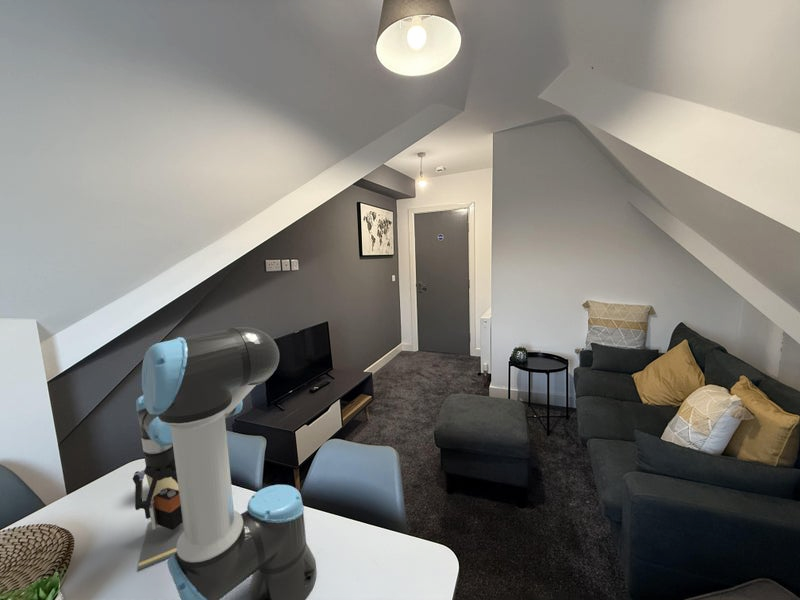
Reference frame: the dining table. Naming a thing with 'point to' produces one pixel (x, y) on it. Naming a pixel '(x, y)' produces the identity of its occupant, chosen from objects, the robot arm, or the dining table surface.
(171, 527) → the battery
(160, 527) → the book
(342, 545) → the dining table surface
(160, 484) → the coffee cup
